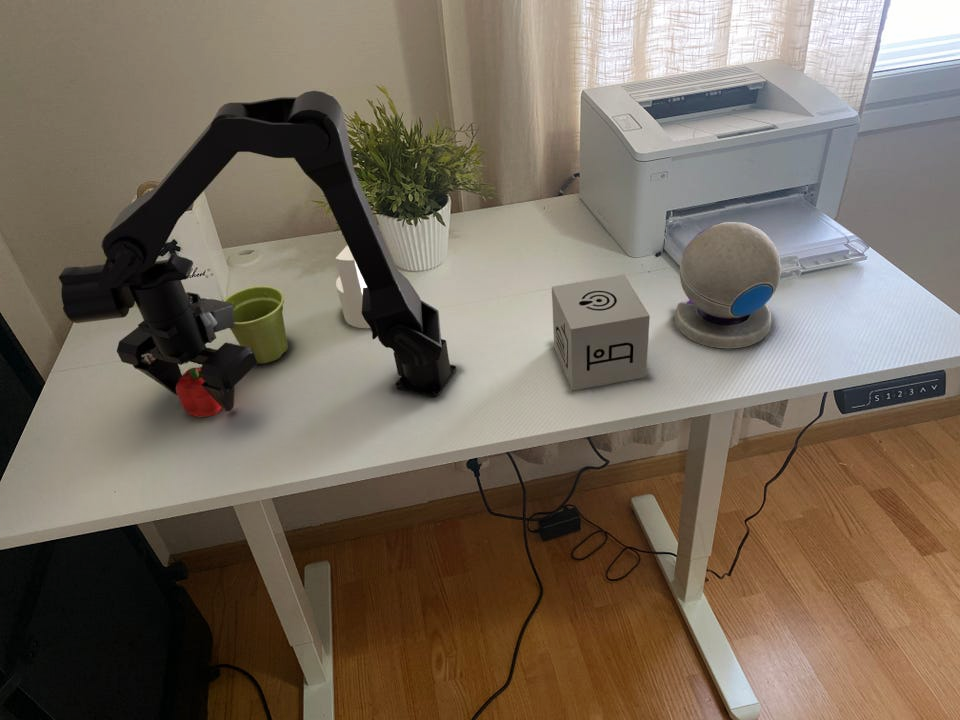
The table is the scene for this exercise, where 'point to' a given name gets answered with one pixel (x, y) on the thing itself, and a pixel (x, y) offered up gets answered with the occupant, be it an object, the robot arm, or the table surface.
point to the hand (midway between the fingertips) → (206, 403)
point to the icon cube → (600, 331)
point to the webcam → (728, 285)
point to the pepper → (195, 394)
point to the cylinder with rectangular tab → (350, 289)
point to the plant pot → (260, 321)
